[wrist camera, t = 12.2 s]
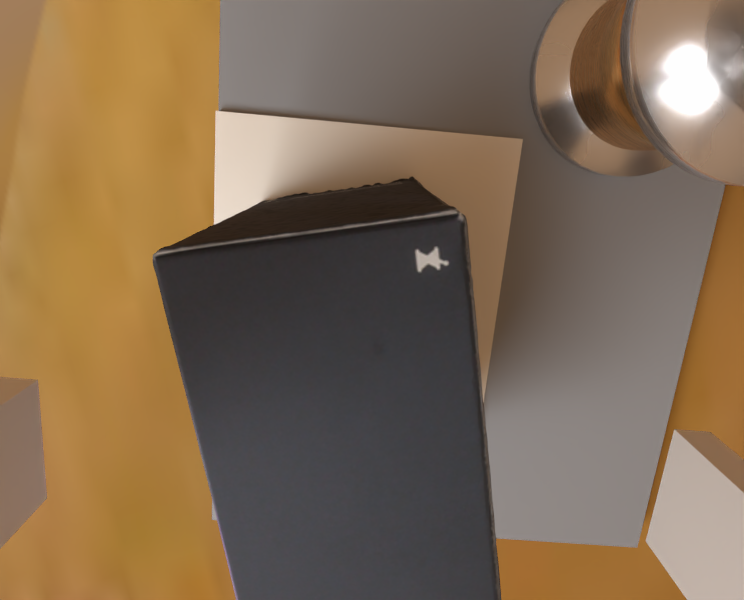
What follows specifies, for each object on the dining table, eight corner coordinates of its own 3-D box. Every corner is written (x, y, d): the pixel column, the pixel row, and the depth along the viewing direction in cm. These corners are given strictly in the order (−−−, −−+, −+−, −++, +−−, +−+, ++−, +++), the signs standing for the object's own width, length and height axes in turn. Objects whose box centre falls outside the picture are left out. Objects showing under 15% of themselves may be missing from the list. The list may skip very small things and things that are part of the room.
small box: (245, 199, 20) (126, 242, 10) (421, 174, 20) (480, 193, 10) (295, 454, 23) (240, 692, 13) (450, 434, 23) (520, 657, 13)
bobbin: (746, -23, 19) (1010, -147, 11) (699, 183, 21) (898, 200, 13) (546, -44, 19) (675, -185, 11) (515, 167, 20) (608, 173, 13)
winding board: (753, -38, 20) (791, -57, 18) (621, 525, 26) (641, 553, 24) (232, -93, 20) (219, -119, 18) (220, 499, 26) (209, 525, 24)
